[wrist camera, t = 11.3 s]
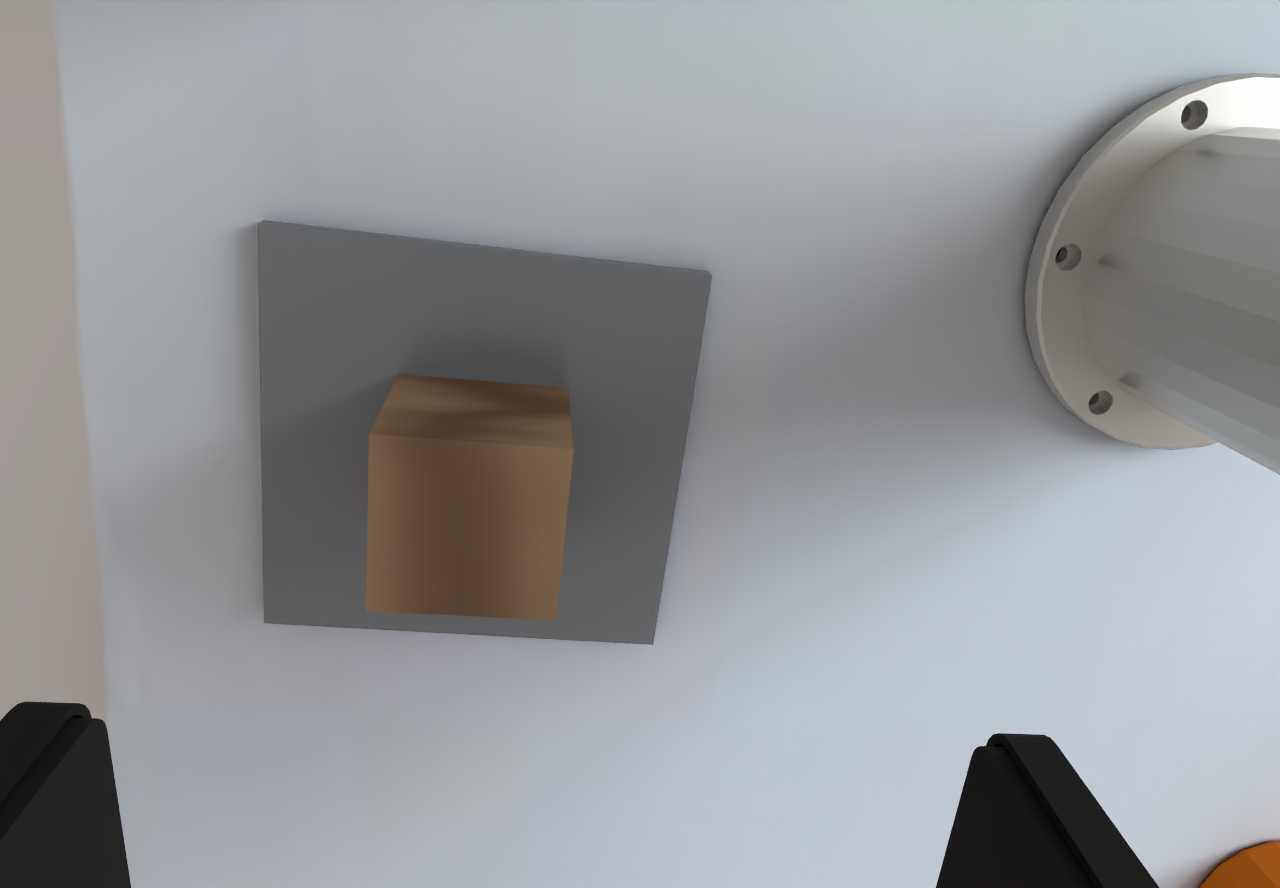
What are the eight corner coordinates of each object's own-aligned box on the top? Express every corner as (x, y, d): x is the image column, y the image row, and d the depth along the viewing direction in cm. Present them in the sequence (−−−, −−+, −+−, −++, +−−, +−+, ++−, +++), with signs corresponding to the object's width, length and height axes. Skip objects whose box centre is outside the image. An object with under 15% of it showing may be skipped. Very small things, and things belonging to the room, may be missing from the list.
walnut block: (568, 387, 30) (573, 449, 25) (553, 535, 32) (556, 620, 27) (398, 373, 30) (369, 433, 25) (393, 526, 32) (365, 610, 26)
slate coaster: (708, 271, 30) (711, 275, 29) (651, 635, 35) (653, 644, 34) (263, 220, 28) (257, 223, 27) (268, 614, 33) (264, 622, 32)
